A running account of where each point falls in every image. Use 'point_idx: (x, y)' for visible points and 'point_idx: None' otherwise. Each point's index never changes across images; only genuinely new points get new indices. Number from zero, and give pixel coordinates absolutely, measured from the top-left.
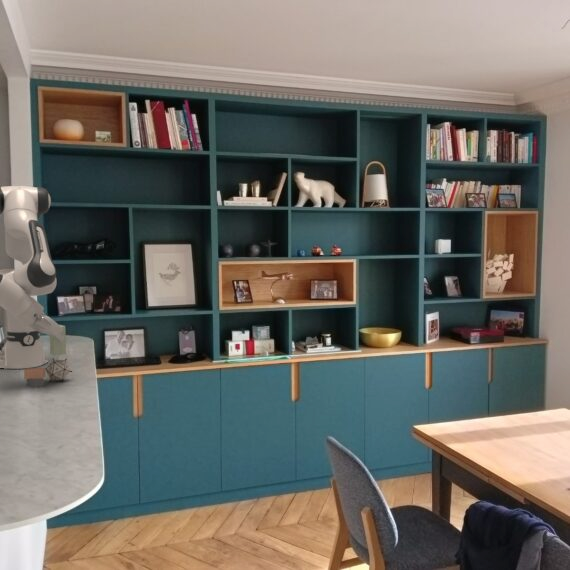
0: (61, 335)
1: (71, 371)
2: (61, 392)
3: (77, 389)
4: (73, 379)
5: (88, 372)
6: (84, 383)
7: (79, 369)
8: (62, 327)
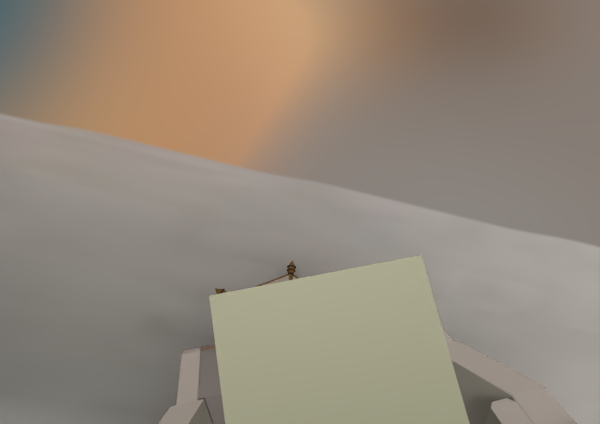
0: (450, 339)
1: (295, 267)
2: (526, 367)
3: (494, 289)
4: (282, 262)
5: (163, 165)
6: (391, 236)
7: (58, 185)
8: (426, 310)
